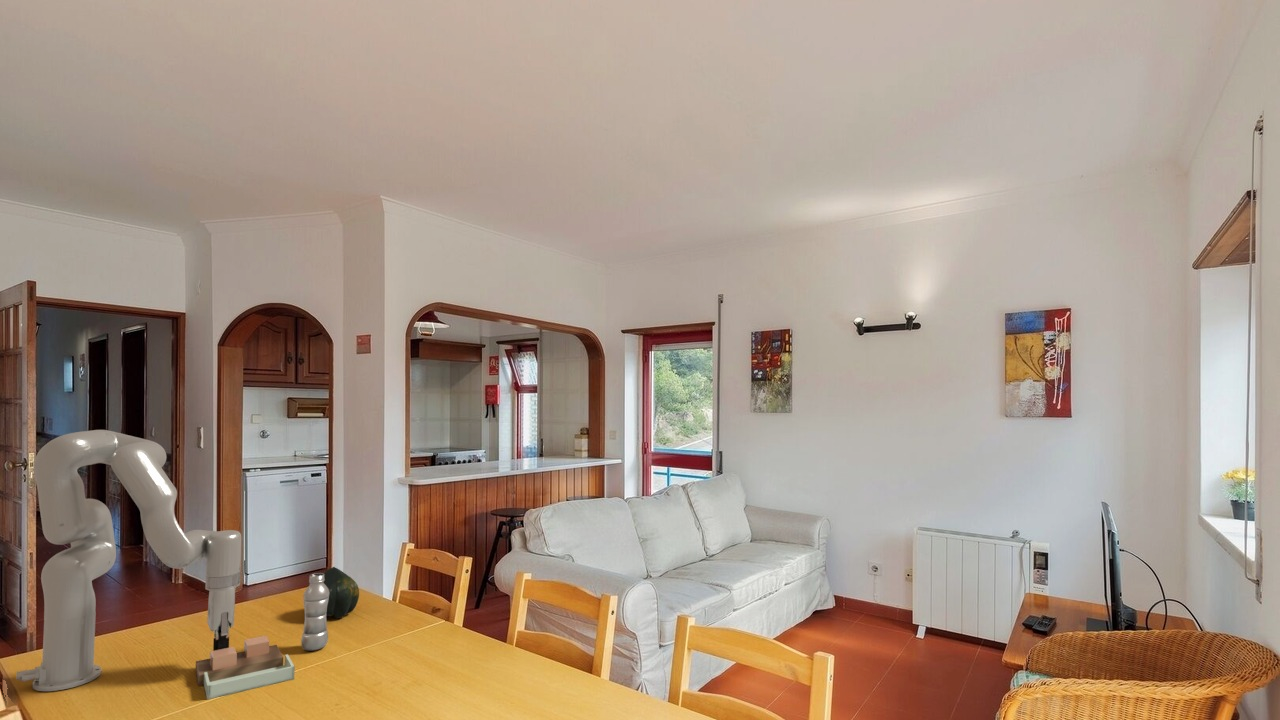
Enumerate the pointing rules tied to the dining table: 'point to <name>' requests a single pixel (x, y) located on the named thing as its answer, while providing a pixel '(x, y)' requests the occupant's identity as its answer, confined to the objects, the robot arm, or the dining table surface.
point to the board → (240, 665)
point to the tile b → (256, 646)
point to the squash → (340, 593)
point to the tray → (249, 680)
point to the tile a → (223, 658)
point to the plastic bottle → (315, 613)
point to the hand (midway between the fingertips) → (220, 653)
